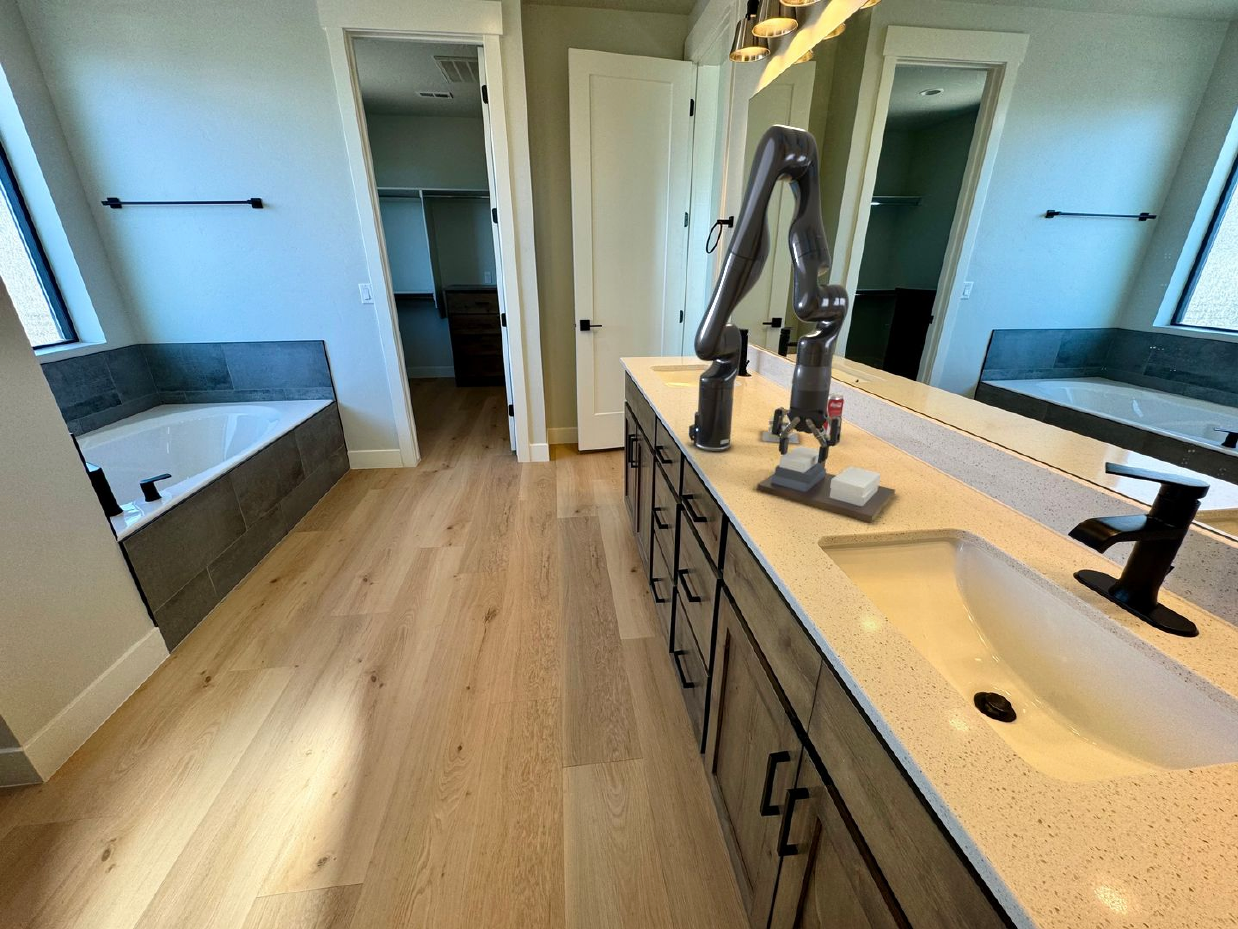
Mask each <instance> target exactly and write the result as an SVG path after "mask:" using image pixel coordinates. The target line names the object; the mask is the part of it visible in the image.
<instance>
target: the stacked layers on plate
mask: <svg viewBox="0 0 1238 929" xmlns="http://www.w3.org/2000/svg"><path fill="white" fill-rule="evenodd" d="M773 419H774V416H769V421H768V425H769V427H768V431H762V437H761V441H762V442H773V443H779V441H780V438H779V437H778V436H777V435H773V434H772V426H773ZM790 423H791V422H790V420H789V419H788V417H787V416H786V417H785V418H783V423H782V430H784V429H785V428H786V427H787V426H788V425H789V424H790ZM788 438H789V443H788V444H799V443H800V442H799V434H798V433H795V432H794V430H793V431H792V432H791V433H790V434H789V435H788Z"/></svg>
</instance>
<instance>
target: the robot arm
mask: <svg viewBox="0 0 1238 929" xmlns="http://www.w3.org/2000/svg"><path fill="white" fill-rule="evenodd" d="M820 181H821V180H820V163H819V151H818V145H817V141H816V138H815V136H814V135H813V134H812V133H811V132H809V131H808V130H805V129H802V128H798V127H797V128H796V127H792V126H787V125H781V124H773V125H771V126H770V127H769V128H767V129H766V130H765V132H763V133H762V135H761V138H760V139H759V141H758V144H757V146H756V148H755V151H754V154H753V159H752V163H751V166H750V170H749V175H748V179H747V183H746V188H745V191H744V195H743V199H742V204H741V207H740V210H739V213H738V215H737V216H738V217H737V219H736V222H735V226H734V229H733V232H732V235H731V238H730V241H729V244H728V246H727V249H726V252H725V254H724V258H723V261H722V265H721V268H720V272H719V275H718V278H717V281H716V284H715V286H714V288H713V290H712V291H713V292H712V294H711V297H710V301H709V302H708V304H707V307H706V309H705V312H704V314H703V315H702V318H701V321H700V323H699V325H698V327H697V330H696V332H695V336H694V342H693V343H694V344H693V349H694V353H695V355H696V357H697V359H699V361H703V362H712V363H711V364H710V366H709V367H708V368H707V369H706V370H705V371H703V372H702V373H701V374H700V375H699V378H698V380H699V381H698V382H699V383H698V400H697V402H698V403H697V404H698V405H697V411H695V412H694V422H693V424H691V425H689V426H688V438H689V439H690V441H691V442H693V444H692V446H693V447H694V446H695V447H696V448H697V449H699V450H702V451H707V452H725V451H727V450H729V449H731V436H732V424H733V409H734V408H733V407H734V395H735V394H734V393H735V381H736V379H737V377H738V375H739V368H740V362H741V354H742V335H741V331H740V329H739V327H738V326H737V325H736V324H735V323H732V322H729V320H730V318H731V316H732V314H733V312H734V311H735V310H736V308H737V307H738V306H739V305H740V303H741V302H743V300H744V299H745V298H746V297H747V295H749V293H750V292H751V291H752V290H753V289H754V287H755V286H756V285H757V283H758V281H759V280H760V278H761V276H762V273H763V270H764V268H765V266H766V263H767V261H768V258H769V254H770V251H771V236H770V235H771V234H770V226H769V218H768V216H769V207H770V206H769V205H770V202H771V200H772V199H771V198H772V195H773V192H774V189H775V186H776V184H777V182H782V183H788V186H789V189H790V191H791V193H792V196H793V202H794V203H793V211H792V215H791V219H790V223H789V226H788V232H787V246H788V251H789V255H790V260H791V264H792V269H793V279H792V280H793V281H792V286H793V287H792V298H791V300H792V301H791V304H792V310H793V313H794V314H795V316H796V318H797V319H798V320H799V321H801V322H802V323H815V325H814V327H813V329H812V331H810V332H809V333H808V332H807V333H806V334H803V335H801V336H800V337H799V339H798V342H797V347H796V355H795V365H794V368H793V373H792V379H791V390H790V399H789V409H786V408H784V407H783V406H780V407H777V408H776V409H775V410H774V413H773V417H774V419H773V426H772V434H773V435H777V436H778V437H779V438H780V441H779V442H778V453H779V452H780V455H781V456H783V455H785V454H786V453H788V452H789V444H790V443H789V438H788V435H789V434H790V433H791V432H792V431H793V432H794V431H796V432H797V433H801V432H802V433H805V434H809V435H811V434H813V435H812V436H814V438H815V439H816V440H817V441H818V443H819V445H820V446H819V449H818V450H819V456H818V463H823V462H824V461H825V460H826V461H827V459H828V458H829V453H830V452H829V451H830V447H835V446H837V445H838V444H840V442H841V434H842V423H843V422H842V421H843V418H842V416H841V417H840V416H837V417H828V415H827V405H828V398H829V394H830V390H831V383H832V375H833V373H832V371H833V370H832V365H833V358H834V350H835V345H836V342H837V340H838V337H839V335H840V332H841V330H842V328H843V326H844V322H845V320H846V318H847V315H848V312H849V307H850V298H849V297H850V296H849V294H848V291H847V289H846V288H845V287H844V286H842V285H841V284H837V283H831V284H829V283H828V284H827V283H826V284H819V277H821V276H822V275H824V274H826V273H827V272H828V271H829V270H830V268H831V266H832V259H831V252H830V248H829V244H828V239H827V235H826V232H825V231H826V230H825V225H824V221H823V215H822V214H823V213H822V204H821V202H822V200H821V182H820ZM785 417H788V419H789V420H790V422H791V423H790V424H789V425H788V426H787V427H786V428H785V429H784V430H782V423H783V418H785ZM826 422H828V424H829V427H831V435H830V437H828V436H827V432H826V430H825V428H824V427H823V425H824V424H825V423H826Z"/></svg>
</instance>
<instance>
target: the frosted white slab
mask: <svg viewBox="0 0 1238 929" xmlns="http://www.w3.org/2000/svg"><path fill="white" fill-rule="evenodd" d="M818 456H819V449H817V448H816V449H815V448H810V447H807V446H801V445H798V446H796V447H794V448H793V449H791V450H789V451H788V452H787V453H786V454H785V455H781V456H780V457H779V463H778V465H779V467H782V468H786V469H790V470H794V471H798V472H802V473H804V472H806V471H807V470H808V469H810V468H811V467H812V466H814V465H815V464H817V463H818Z"/></svg>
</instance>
